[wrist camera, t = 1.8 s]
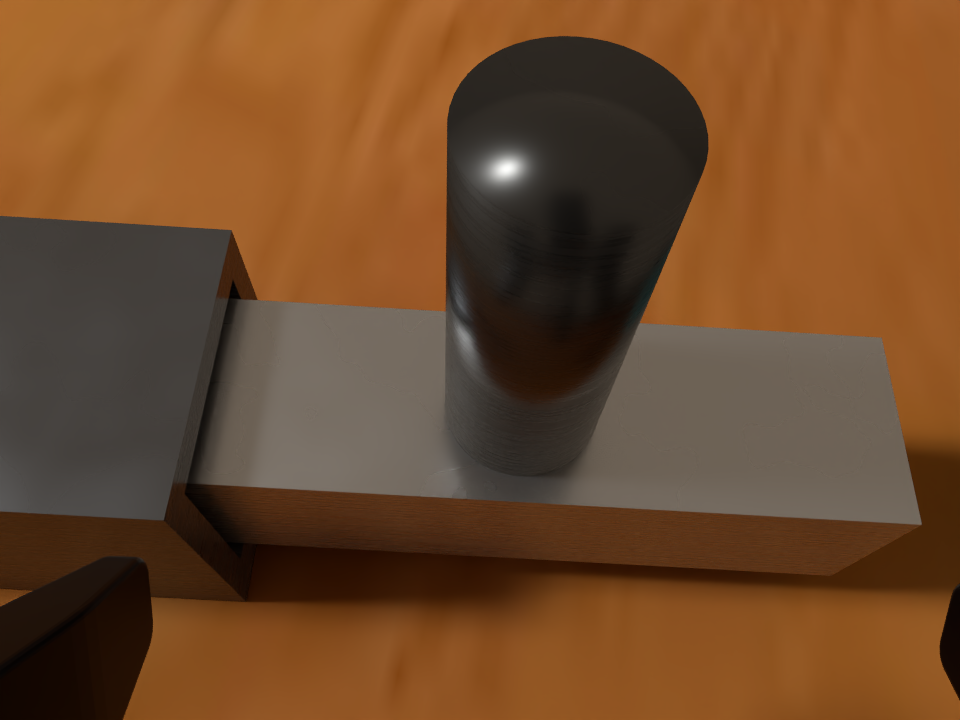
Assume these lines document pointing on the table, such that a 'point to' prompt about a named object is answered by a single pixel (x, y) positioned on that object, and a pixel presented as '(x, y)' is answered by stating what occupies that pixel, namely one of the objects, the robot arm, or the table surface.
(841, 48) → the table surface
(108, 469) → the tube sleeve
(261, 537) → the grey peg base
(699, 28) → the table surface
